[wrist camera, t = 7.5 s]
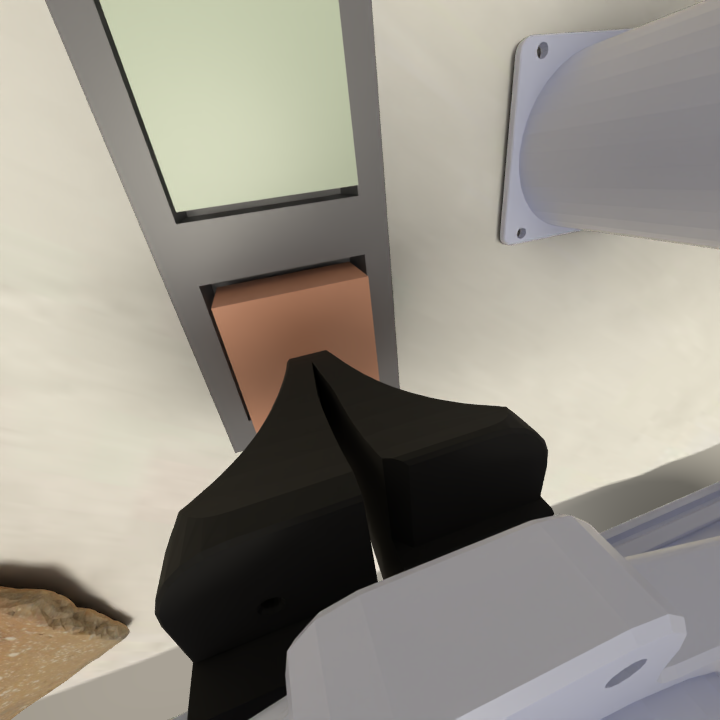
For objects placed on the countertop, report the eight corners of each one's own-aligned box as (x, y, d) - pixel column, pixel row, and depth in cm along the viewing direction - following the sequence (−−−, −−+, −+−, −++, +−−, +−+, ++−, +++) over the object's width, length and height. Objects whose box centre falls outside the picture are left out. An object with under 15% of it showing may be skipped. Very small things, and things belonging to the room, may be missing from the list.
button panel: (332, -73, 11) (360, -153, 8) (380, 375, 19) (400, 404, 17) (48, -75, 9) (-29, -175, 7) (236, 413, 18) (235, 453, 15)
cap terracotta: (349, 261, 14) (368, 276, 12) (363, 369, 16) (381, 398, 14) (216, 287, 13) (211, 308, 10) (254, 398, 15) (256, 433, 13)
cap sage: (311, -19, 10) (330, -75, 8) (338, 184, 12) (358, 184, 10) (113, -14, 9) (71, -77, 7) (189, 206, 11) (175, 212, 9)
